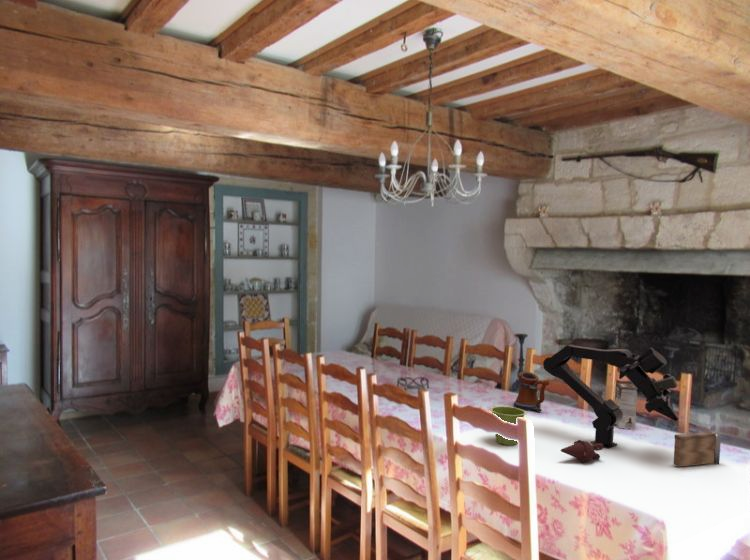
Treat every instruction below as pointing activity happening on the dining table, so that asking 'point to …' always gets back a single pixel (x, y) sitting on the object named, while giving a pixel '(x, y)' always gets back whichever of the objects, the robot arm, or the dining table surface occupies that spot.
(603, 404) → the robot arm
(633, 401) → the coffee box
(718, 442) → the gate post
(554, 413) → the dining table surface
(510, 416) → the plant pot
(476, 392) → the dining table surface
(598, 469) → the dining table surface
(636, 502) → the dining table surface
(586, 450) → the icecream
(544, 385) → the mug
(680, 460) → the brown flat wooden slab
